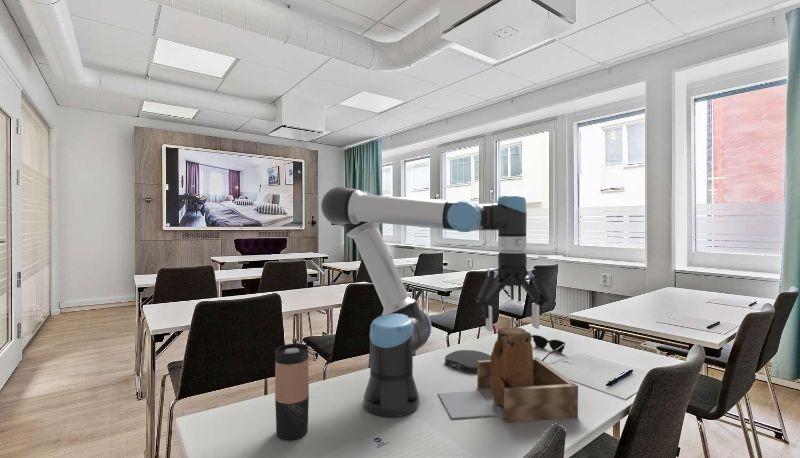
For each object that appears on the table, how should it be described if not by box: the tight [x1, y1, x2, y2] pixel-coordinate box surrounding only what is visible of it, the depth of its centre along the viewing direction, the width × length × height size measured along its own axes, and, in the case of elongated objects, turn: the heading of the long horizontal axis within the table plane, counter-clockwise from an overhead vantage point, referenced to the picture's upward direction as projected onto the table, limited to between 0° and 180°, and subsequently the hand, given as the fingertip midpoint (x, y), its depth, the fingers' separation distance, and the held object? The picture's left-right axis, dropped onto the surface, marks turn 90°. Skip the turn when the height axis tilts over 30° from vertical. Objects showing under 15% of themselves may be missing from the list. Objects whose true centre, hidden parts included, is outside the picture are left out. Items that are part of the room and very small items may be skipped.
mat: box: [437, 390, 498, 420], centre depth 105 cm, size 12×14×1 cm
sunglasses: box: [531, 334, 567, 362], centre depth 146 cm, size 14×16×5 cm
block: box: [490, 326, 534, 407], centre depth 107 cm, size 11×8×20 cm
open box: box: [476, 357, 579, 424], centre depth 108 cm, size 19×21×8 cm
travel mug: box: [274, 343, 310, 442], centre depth 91 cm, size 8×8×20 cm
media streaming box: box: [444, 349, 491, 374], centre depth 136 cm, size 15×15×3 cm
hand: (512, 328), depth 107 cm, fingers open, 13 cm apart
